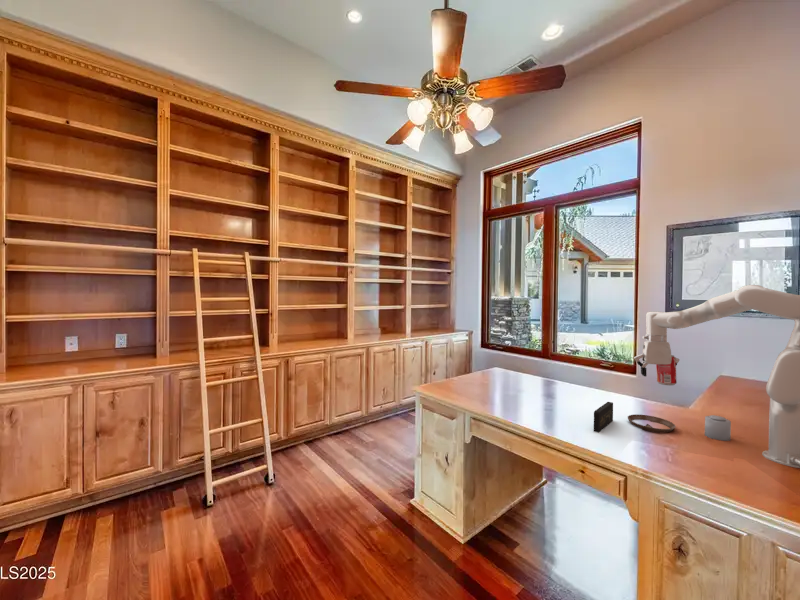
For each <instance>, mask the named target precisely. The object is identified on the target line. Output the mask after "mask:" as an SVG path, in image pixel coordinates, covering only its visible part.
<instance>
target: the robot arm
mask: <svg viewBox="0 0 800 600" xmlns="http://www.w3.org/2000/svg"><path fill="white" fill-rule="evenodd" d="M750 310H754V311H758V312H760V313H764V314H768V315H772V316H775V317H779V318H783V319H788V320H794V326H793V330H792V331H791V334H790V337H789V339H788V342H787V344H786V346H785V348H784V349H783V350H782V351H781V352H780V353H778V355H777V357H776V359H775V361H774V363H773V364H774V365H773V367H772V369H771V372H770V375H769V378H768V380H767V382H766V386H765V392H766V393H767V396H768V397H769V415H768V419H769V420H768V450H763V451H762V456H763V458H765V459H766V460H770V461H772V462H774V463H776V464H780V465H784V466H788V467H791V468H796V469H800V294H794V293H789V292H786V291H785V292H784V291H780V290H775V289H770V288H768V287H764V286H761V285H759V284H748V285H744V286H742V287H740V288H738V289H737V290H733V291H730V292H727V293H724V294H721V295H717V296H714V297H711V298H709V299H707V300H706V301H705V302H703V303H701V304H698V305H695V306H693V307H690V308H686V309H683V310H679V311H678V310H675V311H669V312H664V311H647V312H646V315H645V330H646V331H645V335H642V340H644V342H643V345H642V346H643V347H642V353H641V354H639V355H635V356H634V357H633V359H634V361H635V362H636V364H637V365H639V367H640V374H641V375H642V377H647V375H648V374H647V366H648V365H656V364H659V365H668V364H671V360H672V355H673V354H672V350H671V349H672V348H671V343H670V342H669V341H668V340H667V338H668V337H667V336H668V332H667V331H668V329H671V330H672V329H673V330H680V329H681V330H682V329H685V328H689V327H693V326H696V325H699V324H703V323H707V322H710V321H713V320H719V319H722V318H726V317H730V316H732V315H736V314H740V313H745V312H747V311H750ZM674 358H675V359H676V366H677V365H678V363H679V362H680V359H679V358H677V357H675V356H674ZM640 359H642V361H640Z"/></svg>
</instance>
